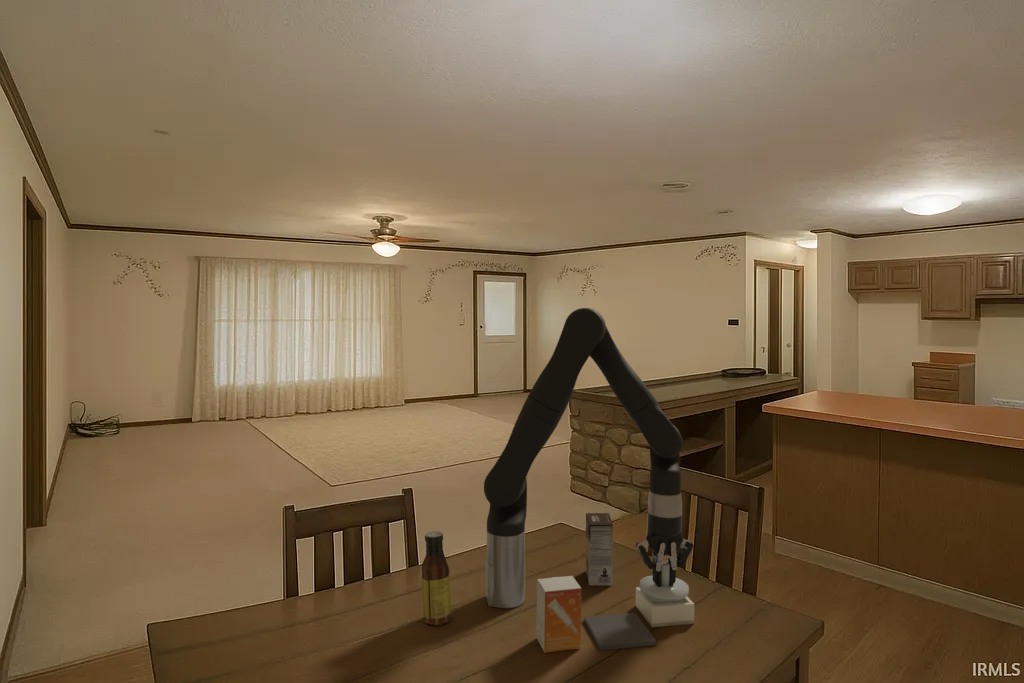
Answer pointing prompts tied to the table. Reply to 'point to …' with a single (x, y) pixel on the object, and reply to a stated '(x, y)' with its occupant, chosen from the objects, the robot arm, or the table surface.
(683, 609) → the open square container
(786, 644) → the table surface
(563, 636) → the small box
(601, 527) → the coffee box
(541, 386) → the robot arm
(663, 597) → the lid
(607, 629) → the mat
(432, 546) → the sauce bottle
